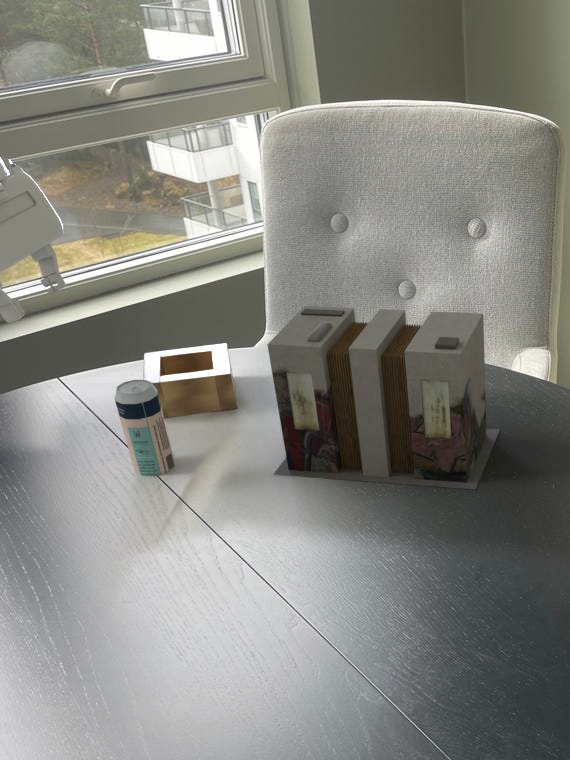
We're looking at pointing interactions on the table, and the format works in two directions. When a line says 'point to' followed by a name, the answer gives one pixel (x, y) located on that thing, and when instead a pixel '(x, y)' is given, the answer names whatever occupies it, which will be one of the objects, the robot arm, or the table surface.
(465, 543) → the table surface
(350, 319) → the bookend
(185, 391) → the holder
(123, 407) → the supplement bottle
